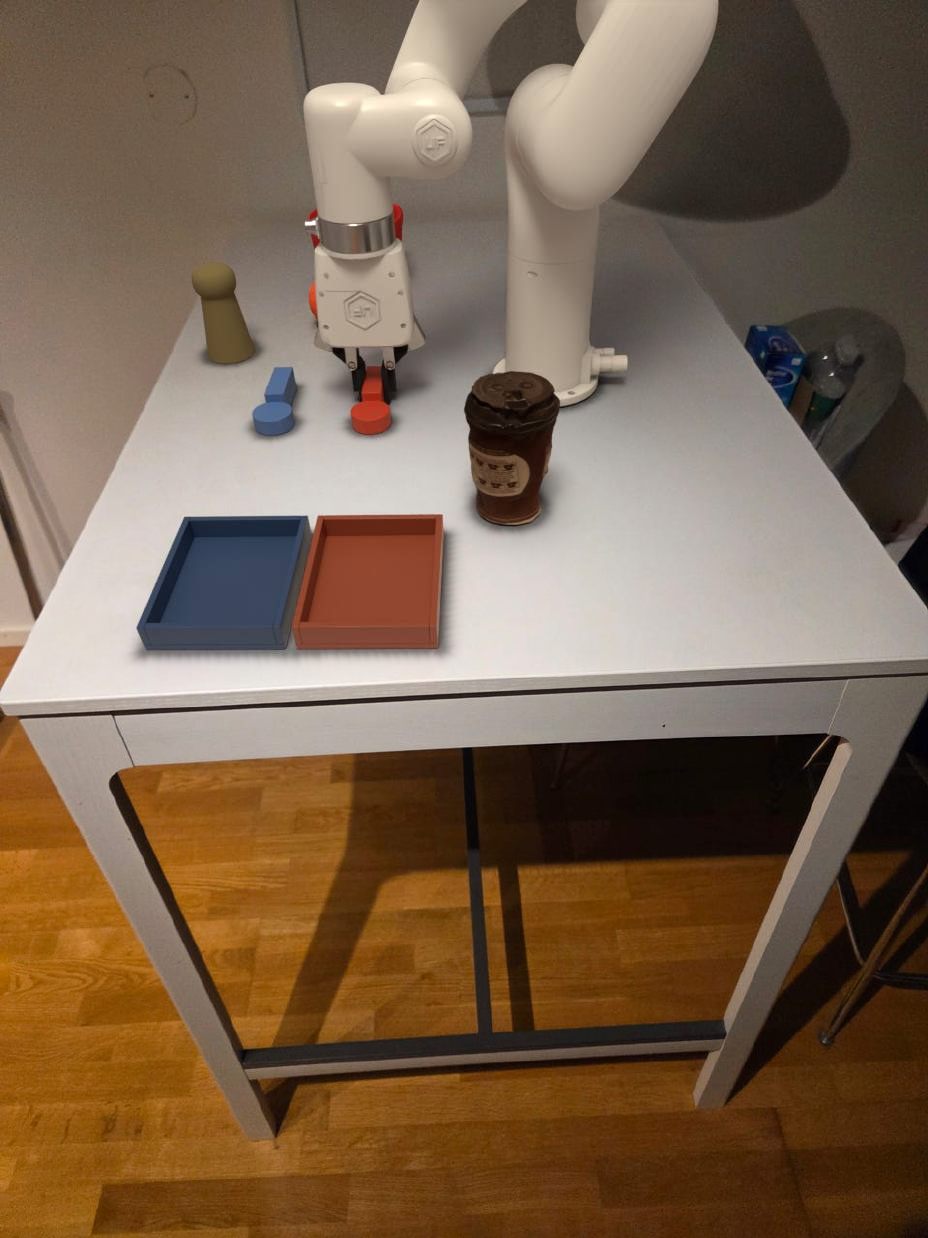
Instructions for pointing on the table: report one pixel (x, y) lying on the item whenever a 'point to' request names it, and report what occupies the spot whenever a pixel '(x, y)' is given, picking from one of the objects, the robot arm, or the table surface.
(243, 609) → the blue tray
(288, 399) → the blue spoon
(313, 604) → the red tray
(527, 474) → the coffee cup
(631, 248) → the table surface
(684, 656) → the table surface
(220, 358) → the olive brown pawn
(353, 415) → the red spoon
